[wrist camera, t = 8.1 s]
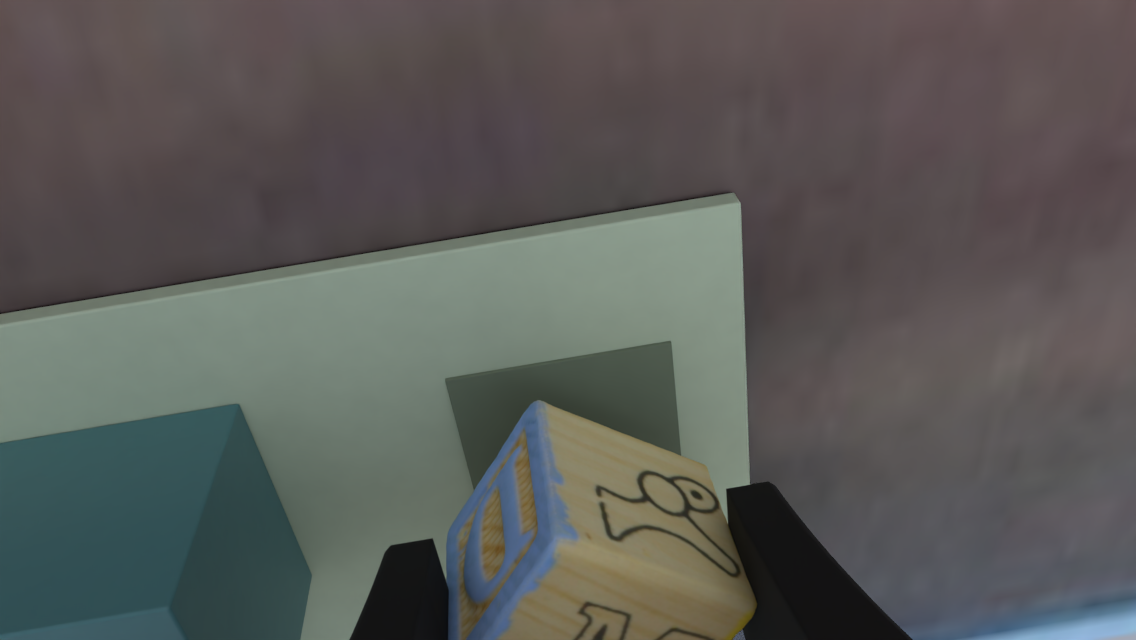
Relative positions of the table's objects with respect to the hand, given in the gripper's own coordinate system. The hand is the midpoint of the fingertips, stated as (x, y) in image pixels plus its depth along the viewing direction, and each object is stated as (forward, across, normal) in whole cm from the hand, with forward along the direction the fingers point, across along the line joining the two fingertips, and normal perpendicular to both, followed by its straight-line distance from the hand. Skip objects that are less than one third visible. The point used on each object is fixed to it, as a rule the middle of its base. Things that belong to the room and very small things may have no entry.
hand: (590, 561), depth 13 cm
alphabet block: (+2, 0, 0) cm, 2 cm away
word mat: (+3, +7, 0) cm, 8 cm away
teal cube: (+3, +7, 0) cm, 7 cm away
